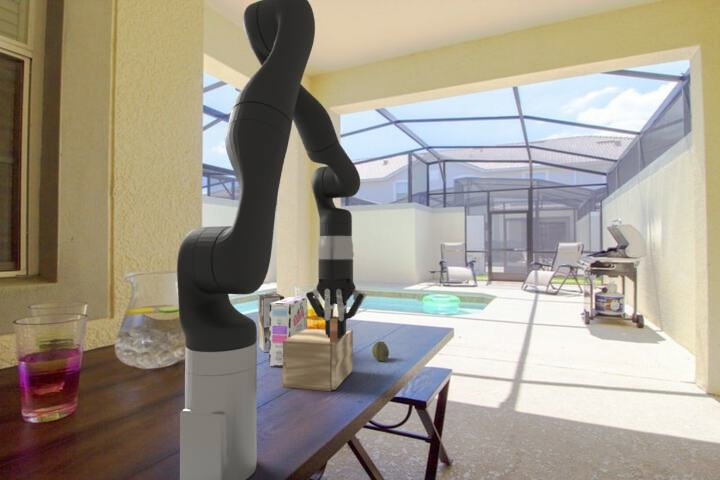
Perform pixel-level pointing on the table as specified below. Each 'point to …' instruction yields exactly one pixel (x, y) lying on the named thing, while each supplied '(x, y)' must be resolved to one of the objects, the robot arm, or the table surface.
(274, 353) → the candy box
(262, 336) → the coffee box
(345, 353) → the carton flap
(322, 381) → the carton
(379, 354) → the lime
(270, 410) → the table surface
